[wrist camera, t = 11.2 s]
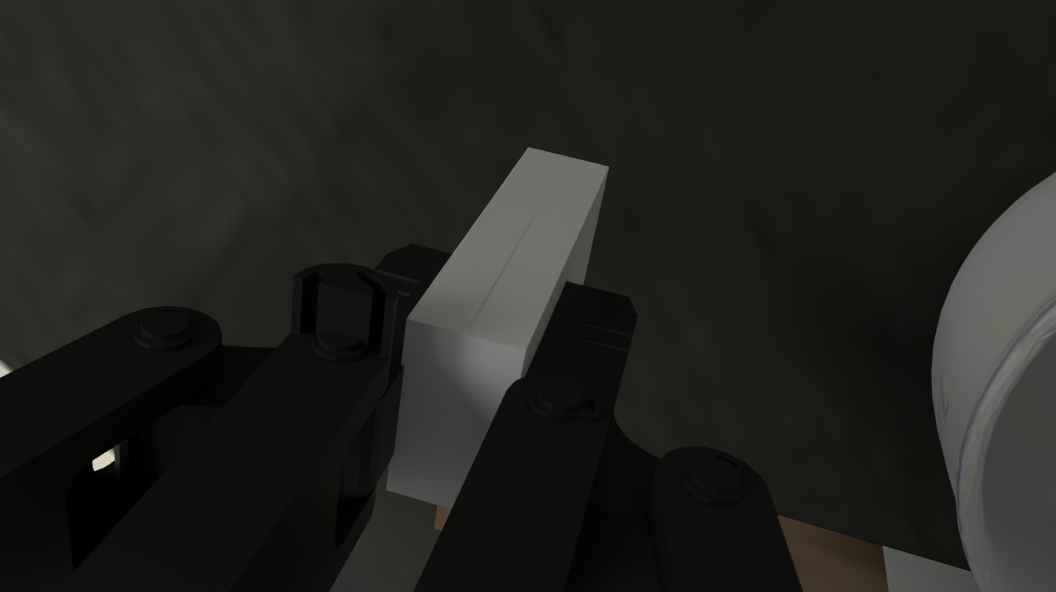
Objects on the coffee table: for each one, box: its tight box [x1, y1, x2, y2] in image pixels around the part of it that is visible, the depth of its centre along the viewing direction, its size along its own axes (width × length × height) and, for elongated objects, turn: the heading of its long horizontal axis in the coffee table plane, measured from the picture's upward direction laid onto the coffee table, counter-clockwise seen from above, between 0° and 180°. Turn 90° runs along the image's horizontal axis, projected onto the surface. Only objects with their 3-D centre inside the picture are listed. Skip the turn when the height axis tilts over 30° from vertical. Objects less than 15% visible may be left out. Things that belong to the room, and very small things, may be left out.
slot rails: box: [434, 505, 889, 592], centre depth 22 cm, size 12×21×3 cm, turn 170°
